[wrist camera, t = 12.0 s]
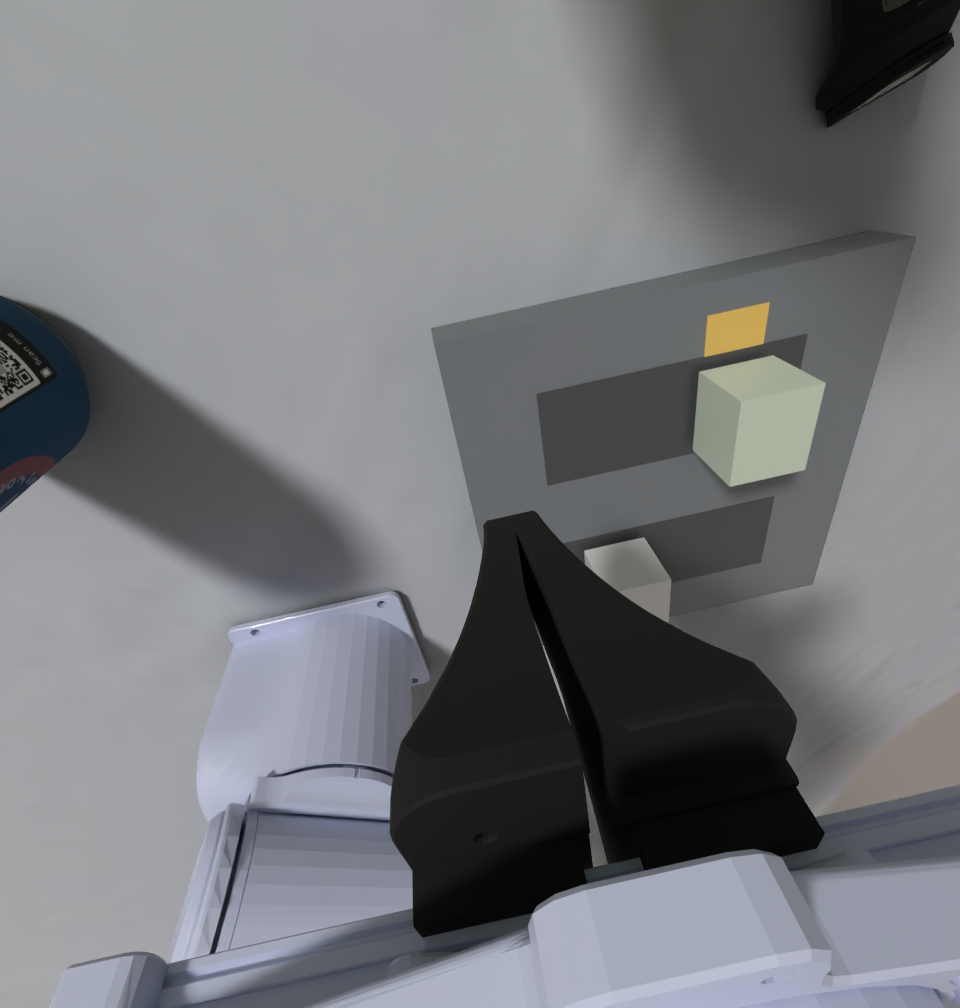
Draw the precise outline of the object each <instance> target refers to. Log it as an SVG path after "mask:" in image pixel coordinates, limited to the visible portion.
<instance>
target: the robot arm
mask: <svg viewBox="0 0 960 1008" xmlns="http://www.w3.org/2000/svg"><path fill="white" fill-rule="evenodd" d="M483 529H484V544H483V553H482V560H481V565H480V571H479V576H478V581H477V585H476V588H475V592H474V596H473V600H472V603H471V607H470V610H469V613H468V616H467V619H466V622H465V624H464V627H463V630H462V632H461V635H460V637H459V640H458V642H457V644H456V647H455V649H454V651H453V653H452V656H451V658H450V660H449V662H448V664H447V666H446V668H445V670H444V672H443V674H442V676H441V678H440V679H439V681H438V683H437V685H436V687H435V689H434V690H433V692H432V694H431V696H430V698H429V699H428V701H427V703H426V704H425V706H424V708H423V709H422V711H421V712H420V714H419V715H418V717H417V718H416V720H415V721H414V723H413V724H412V686H415V685H420V684H424V683H427V682H428V681H429V680H430V672H429V670H428V667H427V665H426V662H425V660H424V657H423V654H422V652H421V649H420V647H419V644H418V642H417V639H416V637H415V634H414V631H413V629H412V626H411V624H410V621H409V619H408V616H407V613H406V611H405V608H404V606H403V603H402V601H401V598H400V596H399V594H398V593H396V592H393V591H389V592H384V593H380V594H375V595H371V596H366V597H362V598H357V599H353V600H348V601H344V602H339V603H335V604H331V605H326V606H322V607H317V608H313V609H308V610H304V611H299V612H295V613H290V614H286V615H281V616H277V617H272V618H268V619H263V620H259V621H255V622H250V623H246V624H241V625H237V626H233V627H231V628H230V630H229V633H228V638H229V639H230V641H231V642H232V643H233V645H234V647H233V650H232V653H231V655H230V658H229V661H228V664H227V667H226V670H225V673H224V676H223V679H222V682H221V684H220V687H219V690H218V693H217V696H216V699H215V702H214V705H213V708H212V711H211V713H210V716H209V719H208V722H207V725H206V728H205V731H204V734H203V737H202V740H201V744H200V748H199V754H198V761H197V793H198V799H199V803H200V806H201V809H202V812H203V814H204V816H205V818H206V820H207V822H208V823H209V825H208V828H207V831H206V833H205V836H204V839H203V843H202V846H201V849H200V852H199V855H198V858H197V861H196V865H195V868H194V871H193V874H192V877H191V881H190V884H189V887H188V891H187V894H186V897H185V900H184V904H183V907H182V910H181V914H180V917H179V921H178V924H177V927H176V931H175V934H174V938H173V941H172V944H171V948H170V951H169V955H168V958H167V962H165V960H163V959H162V958H161V957H159V956H157V955H155V954H152V953H149V952H129V953H123V954H118V955H114V956H109V957H105V958H101V959H96V960H92V961H87V962H83V963H78V964H74V965H71V966H69V967H68V968H67V969H65V970H64V972H63V974H62V976H61V979H60V981H59V984H58V986H57V988H56V991H55V993H54V996H53V998H52V1000H51V1003H50V1005H49V1008H960V785H956V786H952V787H947V788H943V789H939V790H934V791H930V792H926V793H921V794H916V795H912V796H908V797H904V798H899V799H894V800H890V801H886V802H881V803H876V804H872V805H868V806H864V807H859V808H854V809H850V810H846V811H841V812H837V813H832V814H828V815H823V816H819V817H814V815H813V813H812V812H811V810H810V809H809V807H808V805H807V804H806V802H805V801H804V799H803V797H802V796H801V794H800V793H799V791H798V790H797V788H796V786H798V784H799V781H798V777H797V776H796V774H795V772H794V771H793V769H792V768H791V766H790V765H789V763H788V761H787V760H786V757H787V754H788V751H789V748H790V745H791V743H792V740H793V737H794V734H795V731H796V723H797V718H796V716H795V714H794V712H793V710H792V708H791V707H790V706H789V704H788V703H787V701H786V700H785V699H784V697H783V696H782V694H781V693H780V692H779V691H778V689H777V688H776V687H775V686H774V685H773V684H772V683H771V681H770V680H769V679H768V678H767V677H766V676H765V675H764V674H763V673H762V671H761V670H760V669H759V668H758V667H757V666H756V665H755V664H754V663H753V662H751V661H748V660H746V659H744V658H741V657H739V656H736V655H734V654H732V653H729V652H727V651H724V650H722V649H719V648H717V647H715V646H712V645H710V644H708V643H705V642H703V641H701V640H699V639H697V638H695V637H693V636H691V635H689V634H687V633H685V632H683V631H681V630H679V629H678V628H676V627H674V626H672V625H671V624H669V623H667V622H665V621H664V620H662V619H660V618H658V617H657V616H655V615H653V614H651V613H650V612H648V611H646V610H645V609H643V608H642V607H640V606H639V605H637V604H636V603H634V602H633V601H631V600H630V599H628V598H627V597H625V596H624V595H623V594H621V593H620V592H618V591H617V590H616V589H614V588H613V587H612V586H610V585H609V584H608V583H606V582H605V581H604V580H603V579H601V578H600V577H599V576H598V575H597V574H595V573H594V572H593V571H592V570H591V569H590V568H588V567H587V566H586V565H585V564H584V563H583V562H582V561H581V560H580V559H579V558H577V557H576V556H575V555H574V554H573V553H572V552H571V551H570V550H569V549H568V548H567V547H566V546H565V545H564V544H563V543H562V542H561V541H560V540H559V539H558V537H557V536H556V535H555V534H554V533H553V532H552V531H551V530H550V529H549V527H548V526H547V525H546V524H545V523H544V521H543V520H542V519H541V517H540V516H539V514H538V513H536V512H535V511H533V510H532V511H528V512H523V513H519V514H515V515H510V516H506V517H501V518H497V519H492V520H488V521H486V522H485V523H484V525H483ZM379 601H384V603H380V602H379ZM534 621H535V622H534ZM535 624H536V625H535ZM536 627H537V628H536ZM255 629H256V630H255ZM537 629H538V631H537ZM538 632H539V635H540V637H541V640H542V642H543V645H544V647H545V650H546V653H547V655H548V658H549V660H550V663H551V666H552V668H553V671H554V673H555V676H556V679H557V681H558V684H559V687H560V690H561V693H562V696H563V700H564V703H565V707H566V711H567V714H568V718H569V720H568V718H567V715H566V713H565V710H564V707H563V704H562V701H561V699H560V696H559V693H558V690H557V688H556V685H555V682H554V679H553V676H552V673H551V670H550V667H549V665H548V662H547V659H546V656H545V653H544V650H543V647H542V644H541V641H540V638H539V635H538ZM569 721H570V723H569ZM570 725H571V726H570ZM583 772H584V776H585V779H586V783H587V787H588V790H589V794H590V798H591V801H592V805H593V809H594V813H595V816H596V820H597V824H598V828H599V831H600V835H601V839H602V843H603V847H604V850H605V854H606V858H607V862H608V864H607V865H602V866H598V867H593V864H592V856H591V848H590V839H589V833H590V828H589V820H588V811H587V803H586V794H585V785H584V777H583Z"/></svg>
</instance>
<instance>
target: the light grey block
mask: <svg viewBox="0 0 960 1008" xmlns="http://www.w3.org/2000/svg"><path fill="white" fill-rule="evenodd" d="M584 557H585V565H586V566H587V567H588V568H590V569H591V570H592V571H593V572H594V573H595V574H597V575H598V576H599V577H600V578H601V579H603V580H604V581H605V582H606V583H608V584H609V585H610V586H612V587H613V588H614V589H616V590H617V591H618V592H620V593H621V594H623V595H624V596H625V597H627V598H628V599H630V600H631V601H633V602H634V603H636V604H637V605H639V606H640V607H642V608H643V609H645V610H646V611H648V612H650V613H651V614H653V615H655V616H657V617H658V618H660V619H662V620H664V621H665V622H667V623H669V608H670V592H671V578H670V577H669V575H668V574H667V572H666V570H665V569H664V567H663V566H662V564H661V563H660V561H659V560H658V558H657V556H656V555H655V553H654V552H653V550H652V549H651V547H650V546H649V544H648V543H647V541H646V539H645V538H644V537H643V538H638V539H634V540H630V541H625V542H621V543H616V544H612V545H607V546H603V547H598V548H594V549H589V550H585V551H584Z"/></svg>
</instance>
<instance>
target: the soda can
mask: <svg viewBox="0 0 960 1008" xmlns="http://www.w3.org/2000/svg"><path fill="white" fill-rule="evenodd" d="M89 413H90V403H89V395H88V390H87V386H86V382H85V379H84V376H83V373H82V370H81V367H80V365H79V363H78V361H77V359H76V357H75V356H74V354H73V352H72V351H71V349H70V348H69V347H68V345H67V344H66V343H65V342H64V340H63V339H62V338H61V337H60V336H59V335H58V334H57V333H56V332H55V331H54V330H53V329H52V328H51V327H50V326H49V325H48V324H46V323H45V322H44V321H43V320H41V319H40V318H39V317H37V316H36V315H34V314H33V313H31V312H30V311H28V310H27V309H25V308H23V307H21V306H20V305H18V304H16V303H14V302H12V301H10V300H8V299H6V298H4V297H2V296H0V512H1V511H3V510H4V509H5V508H6V507H7V506H8V505H9V504H11V503H12V502H13V501H14V500H15V499H16V498H17V497H19V496H20V495H21V494H22V493H23V492H24V491H25V490H27V489H28V488H29V487H30V486H31V485H32V484H33V483H35V482H36V481H37V480H38V479H39V478H40V477H41V476H43V475H44V474H45V473H46V472H47V471H48V470H49V469H51V468H52V467H53V466H54V465H55V464H56V463H57V462H59V461H60V460H61V459H62V458H63V457H64V456H65V455H67V454H68V453H69V452H70V451H71V450H72V449H73V448H74V447H75V446H76V445H77V444H78V443H79V441H80V440H81V439H82V437H83V435H84V433H85V431H86V428H87V425H88V421H89Z"/></svg>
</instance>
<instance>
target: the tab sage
mask: <svg viewBox="0 0 960 1008" xmlns="http://www.w3.org/2000/svg"><path fill="white" fill-rule="evenodd" d="M825 385H826V383H825V382H823V381H821V380H819V379H817V378H815V377H813V376H812V375H810V374H808V373H806V372H804V371H802V370H800V369H798V368H796V367H794V366H793V365H791V364H789V363H787V362H785V361H783V360H781V359H779V358H777V357H775V356H774V355H772V356H768V357H763V358H759V359H754V360H750V361H745V362H741V363H736V364H732V365H727V366H723V367H718V368H714V369H709V370H705V371H700V372H699V379H698V391H697V403H696V415H695V428H694V440H693V451H694V452H695V453H696V454H697V455H698V456H699V457H700V458H701V459H702V460H703V461H704V462H705V463H706V464H707V465H708V466H709V467H710V468H711V469H712V470H713V471H714V472H715V473H716V474H717V475H718V476H719V477H720V478H721V479H722V480H723V481H724V482H725V483H726V484H727V485H728V486H729V487H732V486H736V485H741V484H745V483H750V482H754V481H759V480H763V479H767V478H772V477H776V476H781V475H785V474H790V473H794V472H799V471H803V470H805V468H806V464H807V460H808V456H809V451H810V447H811V443H812V439H813V435H814V431H815V426H816V422H817V418H818V414H819V410H820V405H821V401H822V397H823V393H824V389H825Z"/></svg>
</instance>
